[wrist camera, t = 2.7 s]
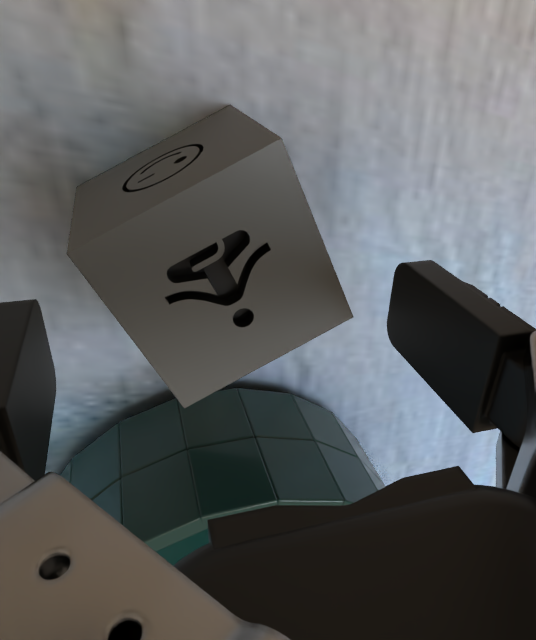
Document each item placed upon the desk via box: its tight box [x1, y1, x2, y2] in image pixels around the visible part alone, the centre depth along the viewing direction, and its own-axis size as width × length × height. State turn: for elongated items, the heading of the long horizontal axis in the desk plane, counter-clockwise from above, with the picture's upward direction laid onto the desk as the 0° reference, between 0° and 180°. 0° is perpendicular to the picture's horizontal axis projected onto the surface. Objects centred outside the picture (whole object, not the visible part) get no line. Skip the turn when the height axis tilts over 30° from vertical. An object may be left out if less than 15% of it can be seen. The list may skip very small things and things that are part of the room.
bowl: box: [60, 388, 386, 565], centre depth 20 cm, size 14×14×6 cm
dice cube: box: [67, 105, 353, 408], centre depth 14 cm, size 5×5×5 cm
